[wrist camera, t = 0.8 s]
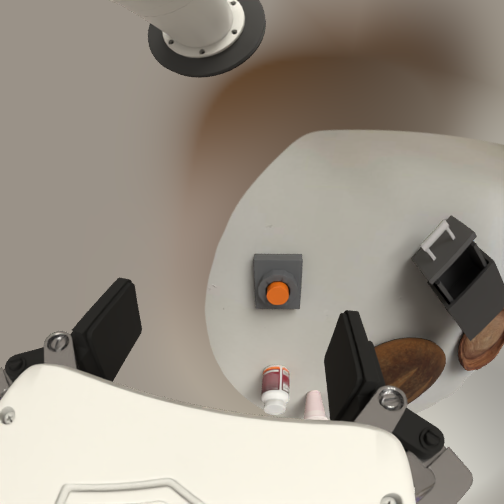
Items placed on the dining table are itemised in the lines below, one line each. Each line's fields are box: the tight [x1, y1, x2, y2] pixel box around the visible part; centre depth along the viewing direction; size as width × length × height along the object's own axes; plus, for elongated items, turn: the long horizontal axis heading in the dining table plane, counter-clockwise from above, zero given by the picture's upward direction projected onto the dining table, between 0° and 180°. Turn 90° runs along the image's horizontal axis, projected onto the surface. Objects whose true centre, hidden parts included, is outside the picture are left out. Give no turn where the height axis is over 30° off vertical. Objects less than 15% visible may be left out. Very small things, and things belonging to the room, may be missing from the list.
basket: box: [458, 308, 504, 371], centre depth 49 cm, size 22×20×5 cm
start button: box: [267, 281, 289, 305], centre depth 45 cm, size 4×4×2 cm
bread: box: [374, 338, 446, 404], centre depth 54 cm, size 28×27×9 cm
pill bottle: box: [261, 365, 289, 415], centre depth 56 cm, size 6×6×11 cm
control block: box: [254, 254, 303, 309], centre depth 47 cm, size 10×8×4 cm
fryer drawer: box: [411, 216, 487, 303], centre depth 39 cm, size 18×11×8 cm, turn 52°
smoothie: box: [304, 391, 328, 420], centre depth 58 cm, size 6×6×14 cm
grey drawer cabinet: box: [427, 247, 504, 341], centre depth 41 cm, size 15×13×10 cm
